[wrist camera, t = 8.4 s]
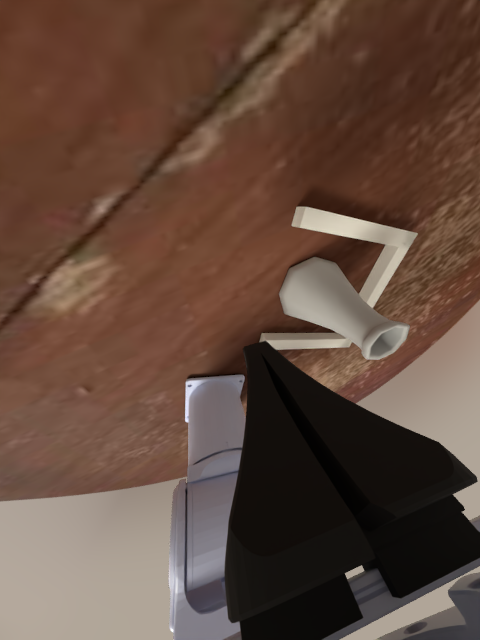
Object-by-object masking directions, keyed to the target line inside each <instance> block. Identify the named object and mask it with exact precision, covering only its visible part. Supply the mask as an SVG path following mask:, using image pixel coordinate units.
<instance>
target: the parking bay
mask: <svg viewBox="0 0 480 640" xmlns="http://www.w3.org/2000/svg"><path fill="white" fill-rule="evenodd" d="M291 226H294V227H299V228H304V229H309V230H314V231H319V232H324V233H330V234H335V235H340V236H345V237H350V238H355V239H360V240H365V241H370V242H375V243H380V244H386V245H385V247H384V248H383V250H382V252H381V254H380V256H379V258H378V260H377V261H376V263H375V265H374V267H373V269H372V271H371V273H370V274H369V276H368V278H367V280H366V282H365V284H364V286H363V287H362V289H361V291H360V293H359V296H360V297H361V298H362V299H363V301H365V302H366V303H367V304H368V305H369V306H370V307H372V308H373V307H374V305H375V303H376V302H377V300H378V299H379V297H380V295H381V294H382V292H383V290H384V289H385V287H386V285H387V284H388V282H389V280H390V279H391V277H392V275H393V274H394V272H395V271H396V269H397V267H398V266H399V264H400V262H401V261H402V259H403V257H404V256H405V254H406V252H407V251H408V249H409V247H410V246H411V244H412V243H413V241H414V239H415V238H416V236H417V234H418V233H414V232H410V231H406V230H402V229H398V228H393V227H389V226H385V225H381V224H377V223H372V222H368V221H364V220H360V219H356V218H352V217H347V216H343V215H339V214H335V213H331V212H327V211H322V210H318V209H314V208H310V207H296V211H295V214H294V218H293V222H292V225H291ZM263 341H267V342H268V343H269V344H270V345H271V346H272V347H273V348H275V349H276V350H284V349H313V348H341V347H349V346H350V345H351V343H352V341H351V340H349V339H348V338H346V337H344V336H342V335H341V334H339V333H262V334H261V338H260V341H259V342H263Z"/></svg>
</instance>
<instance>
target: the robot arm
mask: <svg viewBox="0 0 480 640" xmlns="http://www.w3.org/2000/svg"><path fill="white" fill-rule="evenodd" d="M243 352H244V357H245V362H246V367H247V378H248V391H247V411H246V418H245V414H244V410H243V406H242V403H241V399H240V395H241V391H242V387H243V383H244V379H245V377H244V375H229V376H216V377H203V378H190V379H187V380H186V405H185V421H186V422H188V474H187V477H188V478H187V479H188V480H187V483H186V482H185V481H186V479H182V480H180V481H179V485H177V487H176V488H175V489H174V492H173V502H172V515H171V532H170V553H169V588H170V590H171V591H170V624H169V627H170V630H171V632H173V640H339V639H341V638H343V637H345V636H347V635H349V634H351V633H353V632H354V631H356V630H358V629H360V628H362V627H364V626H366V625H368V624H370V623H371V622H374V621H376V620H378V619H379V618H381V617H383V616H385V615H387V614H389V613H391V612H393V611H395V610H396V609H399V608H400V607H402V606H404V605H406V604H408V603H410V602H412V601H414V600H416V599H418V598H420V597H421V596H423V595H425V594H427V593H429V592H431V591H433V590H435V589H437V588H439V587H441V586H442V585H444V584H446V583H448V582H450V581H452V580H454V579H456V578H458V577H460V576H461V575H464V574H465V573H467V572H469V571H471V570H473V569H475V568H477V567H479V566H480V516H478V517H476V518H474V519H472V520H470V521H469V520H468V519H467V518H466V516H465V515H464V514H463V513H462V511H464V510H465V509H464V507H463V505H462V504H461V503H460V502H459V501H458V500H457V499H456V498H455V497H454V496H453V495H452V494H454V493H456V492H458V491H460V490H462V489H464V488H466V487H468V486H470V485H472V484H474V483H476V482H477V477H476V476H475V475H474V474H473V473H472V472H471V471H470V470H469V469H468V468H467V467H465V465H464V464H462V463H461V462H460V461H459V460H458V459H457V458H456V457H455V456H454V455H453V454H452V453H451V452H450V451H448V450H447V449H446V448H445V447H444V446H442V445H441V444H440V443H439V442H437V441H434V440H432V439H430V438H427V437H425V436H423V435H420V434H418V433H415V432H413V431H411V430H409V429H406V428H404V427H402V426H400V425H397V424H395V423H393V422H391V421H389V420H386V419H384V418H382V417H380V416H378V415H376V414H374V413H372V412H370V411H368V410H366V409H364V408H362V407H360V406H358V405H357V404H355V403H353V402H351V401H349V400H347V399H345V398H344V397H342V396H340V395H338V394H337V393H335V392H333V391H331V390H330V389H328V388H327V387H325V386H323V385H322V384H320V383H319V382H317V381H316V380H314V379H313V378H311V377H310V376H308V375H307V374H306V373H304V372H303V371H301V370H300V369H299V368H297V367H296V366H295V365H294V364H292V363H291V362H290V361H289V360H287V359H286V358H285V357H284V356H282V355H281V354H280V353H279V352H278V351H277V350H276V349H275V348H273V347H272V346H271V345H270V344H269V343H268V342H267V341H263V342H259V343H256V344H252V345H249V346H245V347H244V348H243ZM361 565H362V566H363V568H364V570H365V571H364V572H362V573H360V574H358V575H356V576H353V577H352V578H349V579H347V578H346V575H345V573H346V572H348V571H350V570H352V569H354V568H356V567H358V566H361ZM448 594H449V597H450V598H451V599H452V601H453V602H454V604H455V606H454V607H452V608H449V609H447V610H444V611H442V612H439V613H437V614H435V615H432V616H430V617H427V618H424V619H422V620H420V621H417V622H415V623H412V624H410V625H407V626H405V627H403V628H400V629H398V630H395V631H393V632H391V633H388V634H386V635H384V636H382V637H380V638H378V639H376V640H480V573H474V574H470V575H467V576H464V577H462V578H460V579H459V580H458V581H457V582H456V583H455V584H454V585H453V586H452V587H451V588H450V589H449V590H448Z"/></svg>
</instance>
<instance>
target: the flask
mask: <svg viewBox="0 0 480 640" xmlns="http://www.w3.org/2000/svg"><path fill="white" fill-rule="evenodd" d="M279 296H280V300H281V304H282V307H283V311H284V314H286V315H289V316H292V317H296V318H299V319H302V320H306V321H309V322H312V323H314V324H317V325H320V326H323V327H326V328H329V329H331V330H333V331H335V332H337V333H339V334H341V335H342V336H344V337H346V338H348V339H349V340H351V341H352V342H353V343H354V344H356V345H357V346H358V347H359V348H360V349H361V350H362V355H363V356H364V357H365V358H366V359H375V360H379V359H381V358H383V357H385V356H388V355H390V354H392V353H394V352H395V351H396V350H397V349H398V348H399V346H400V345H401V344H402V343H403V342H404V341H405V340H406V338H407V335H408V331H409V328H410V325H408V324H406V323H403V322H397V321H391V320H389V319H387V318H386V317H384V316H382V315H380V314H379V313H377V312H376V311H375V310H374V309H373V308H372V307H370V306H369V305H368V304H367V303H366V302H365V301H363V299H362V298H361V297H360V296H359V294H358V293H357V292H356V290H355V289H354V288H353V287H352V285H351V284H350V283H349V281H348V280H347V278H346V277H345V275H344V274H343V273H342V271H341V270H340V268H339V267H338V265H337V264H336V263H335V262H331V261H328V260H324V259H321V258H318V257H313V258H310V259H308V260H306V261H304V262H302V263H300V264H298V265H295V266H293V267H291V268H289V270H288V273H287V275H286V278H285V280H284V283H283V285H282V287H281V290H280V292H279Z"/></svg>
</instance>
